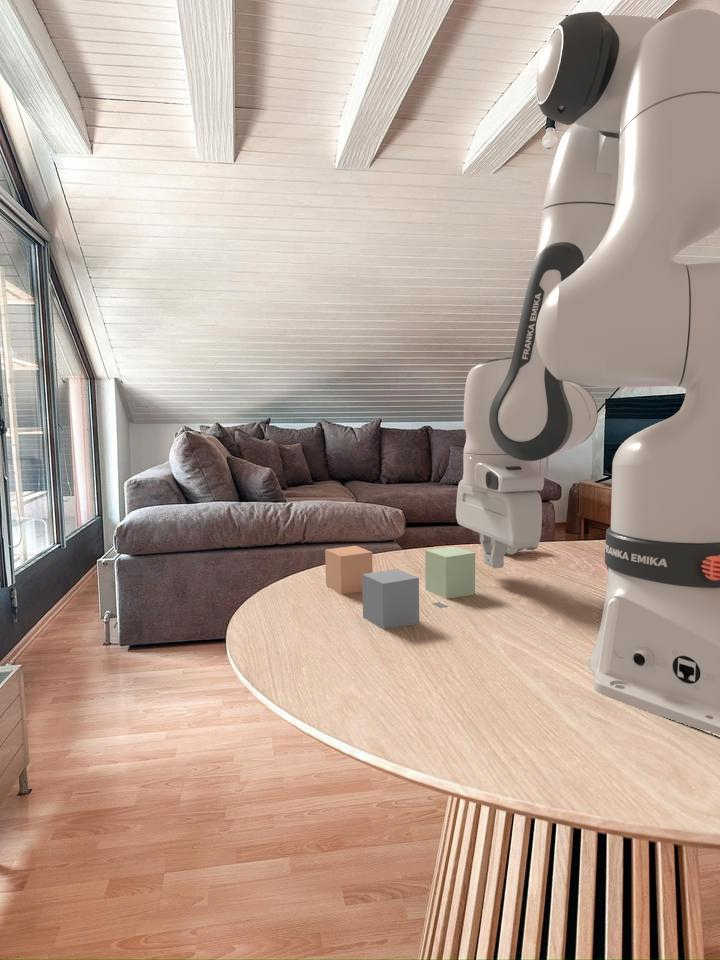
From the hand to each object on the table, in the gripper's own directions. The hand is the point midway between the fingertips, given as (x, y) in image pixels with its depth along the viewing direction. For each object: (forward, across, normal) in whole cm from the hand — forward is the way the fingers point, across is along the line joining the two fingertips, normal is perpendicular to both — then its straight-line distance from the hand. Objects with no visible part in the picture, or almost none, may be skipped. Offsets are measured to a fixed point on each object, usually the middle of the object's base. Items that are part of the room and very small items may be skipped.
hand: (493, 565), depth 94 cm
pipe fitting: (+1, -15, +14) cm, 20 cm away
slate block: (+3, +12, -20) cm, 23 cm away
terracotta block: (+3, -3, -21) cm, 22 cm away
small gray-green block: (+3, +7, -12) cm, 14 cm away
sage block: (+3, +2, -8) cm, 8 cm away
